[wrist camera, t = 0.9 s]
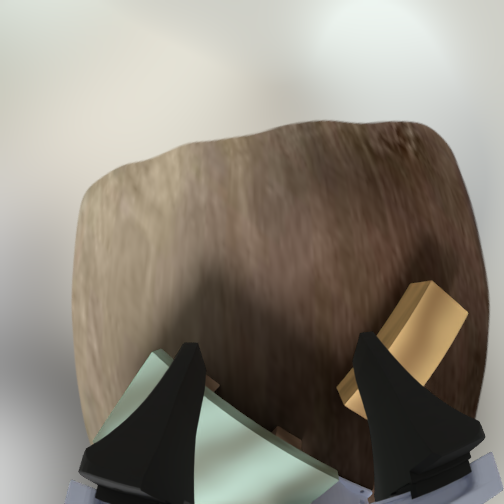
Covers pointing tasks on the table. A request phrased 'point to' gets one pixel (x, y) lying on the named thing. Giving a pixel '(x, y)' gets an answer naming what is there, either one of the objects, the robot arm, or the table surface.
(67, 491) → the robot arm
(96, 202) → the table surface
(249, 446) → the socket shed
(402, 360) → the peg
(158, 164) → the table surface
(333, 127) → the table surface
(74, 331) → the table surface
